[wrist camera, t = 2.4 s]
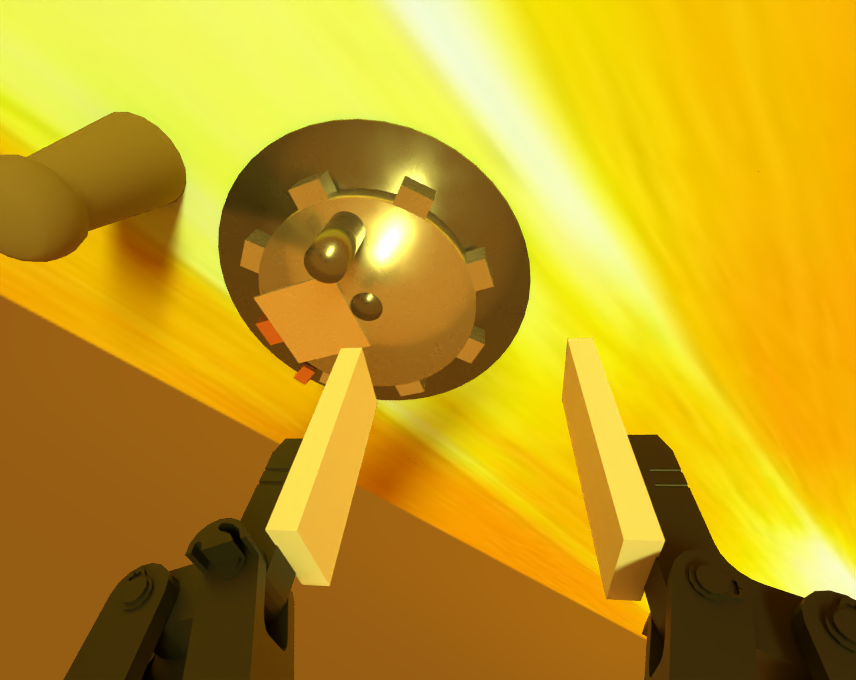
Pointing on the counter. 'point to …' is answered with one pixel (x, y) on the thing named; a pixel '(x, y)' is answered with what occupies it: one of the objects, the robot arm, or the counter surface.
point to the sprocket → (369, 282)
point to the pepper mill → (85, 185)
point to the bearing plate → (385, 170)
